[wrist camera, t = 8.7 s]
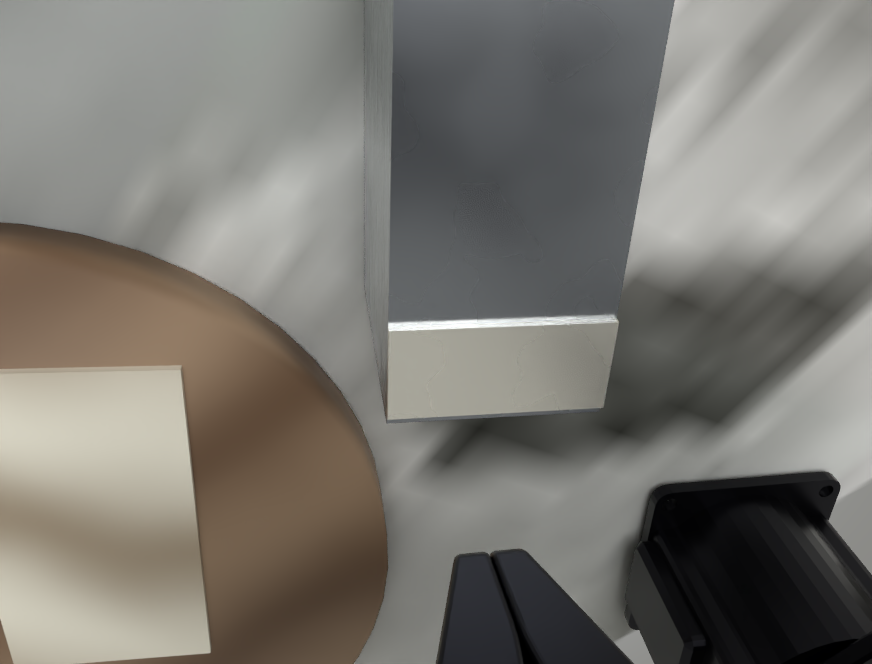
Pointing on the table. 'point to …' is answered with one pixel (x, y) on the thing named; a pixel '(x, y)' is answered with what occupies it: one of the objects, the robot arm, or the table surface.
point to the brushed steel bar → (502, 197)
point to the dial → (171, 472)
